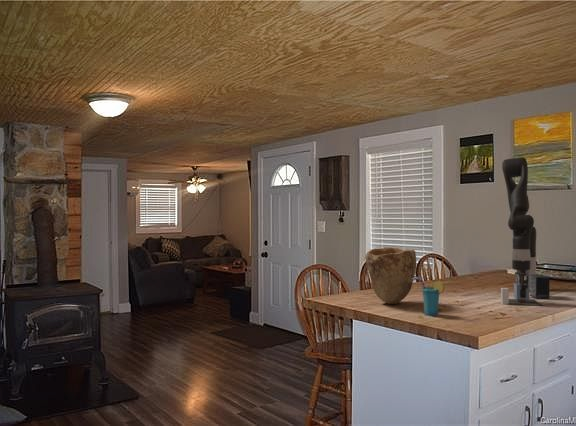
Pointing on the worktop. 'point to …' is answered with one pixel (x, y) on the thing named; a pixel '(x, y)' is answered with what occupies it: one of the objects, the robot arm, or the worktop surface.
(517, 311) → the worktop surface
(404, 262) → the bowl
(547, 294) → the small box
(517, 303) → the dark grey square tray
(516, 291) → the blue-grey block
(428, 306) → the cup
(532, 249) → the robot arm
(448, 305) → the worktop surface
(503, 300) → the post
